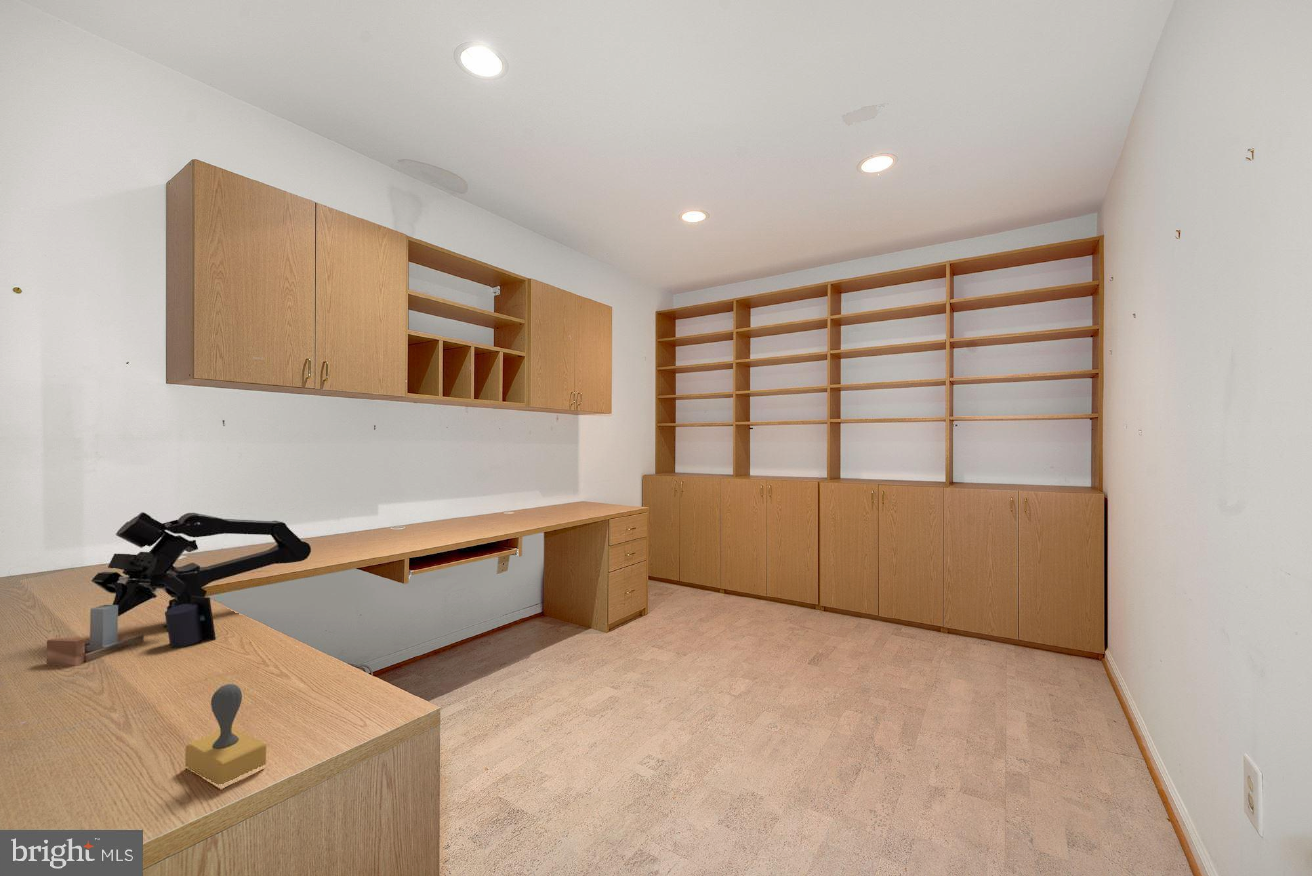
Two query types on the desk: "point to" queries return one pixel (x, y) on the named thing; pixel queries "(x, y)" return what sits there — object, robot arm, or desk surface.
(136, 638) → the guide track
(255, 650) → the desk surface
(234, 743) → the rubber stamp
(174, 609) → the speaker
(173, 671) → the desk surface
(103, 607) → the sliding block
